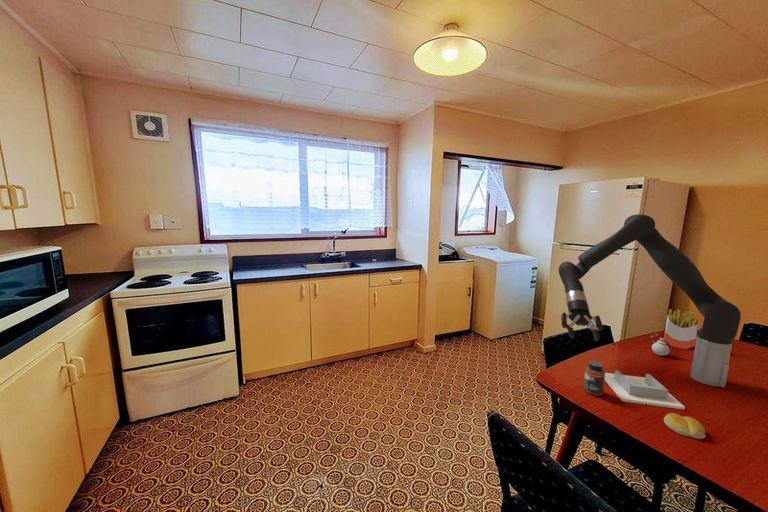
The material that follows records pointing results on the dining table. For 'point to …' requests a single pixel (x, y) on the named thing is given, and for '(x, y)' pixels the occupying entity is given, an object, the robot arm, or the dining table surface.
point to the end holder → (641, 390)
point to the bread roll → (685, 425)
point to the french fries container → (681, 329)
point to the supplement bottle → (594, 378)
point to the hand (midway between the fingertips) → (584, 338)
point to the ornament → (660, 347)
